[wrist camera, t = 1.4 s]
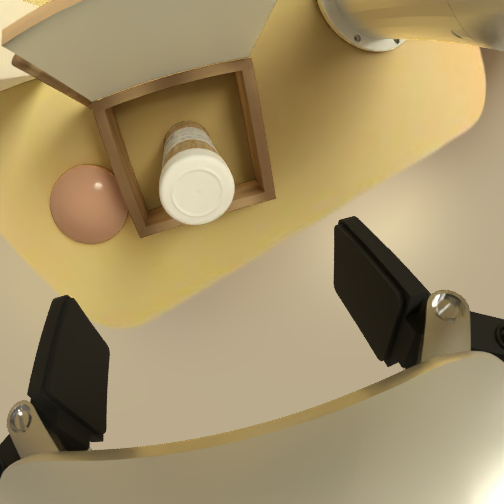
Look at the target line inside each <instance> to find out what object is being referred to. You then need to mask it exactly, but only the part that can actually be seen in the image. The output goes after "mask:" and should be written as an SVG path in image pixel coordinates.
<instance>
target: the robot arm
mask: <svg viewBox="0 0 504 504" xmlns="http://www.w3.org/2000/svg"><path fill="white" fill-rule="evenodd" d="M317 2H318V5H319V8H320V11H321V13H322V14H323V16H324V18H325V20H326V21H327V23H328V24H329V25H330V27H331V28H332V29H333V30H334V31H335V32H336V33H337V34H338V35H339V36H340V37H341V38H342V39H344V40H345V41H346V42H348V43H349V44H351V45H353V46H355V47H357V48H360V49H363V50H366V51H374V52H384V51H389V50H393V49H395V48H397V47H399V46H400V45H401V44H402V43H404V41H405V40H406V39H412V40H429V41H440V42H450V43H458V44H466V45H472V46H478V47H484V48H490V49H496V50H502V51H504V0H317ZM354 38H355V40H354ZM334 288H335V290H336V293H337V294H338V296H339V297H340V299H341V300H342V302H343V303H344V305H345V307H346V308H347V310H348V311H349V313H350V315H351V316H352V318H353V319H354V321H355V322H356V324H357V325H358V327H359V329H360V330H361V332H362V333H363V335H364V337H365V338H366V340H367V342H368V343H369V345H370V347H371V348H372V350H373V351H374V353H375V355H376V356H377V358H378V359H379V360H380V361H383V360H384V362H385V363H386V365H387V367H389V366H392V365H393V364H396V363H398V362H399V363H400V365H401V367H403V371H401V372H399V373H397V374H395V375H393V376H390V377H388V378H386V379H384V380H381V381H379V382H377V383H374V384H372V385H370V386H367V387H365V388H362V389H360V390H358V391H355V392H353V393H350V394H348V395H345V396H343V397H340V398H338V399H335V400H332V401H330V402H327V403H324V404H322V405H319V406H316V407H313V408H310V409H307V410H304V411H302V412H298V413H295V414H292V415H289V416H285V417H282V418H279V419H275V420H272V421H268V422H265V423H261V424H258V425H254V426H250V427H246V428H242V429H238V430H234V431H230V432H225V433H221V434H216V435H212V436H206V437H201V438H196V439H190V440H185V441H179V442H172V443H166V444H158V445H151V446H142V447H133V448H122V449H108V450H92V449H91V448H90V447H89V445H90V443H89V442H100V441H103V434H104V433H105V432H106V413H107V412H106V411H107V385H108V369H109V356H110V352H109V347H108V345H107V344H106V342H105V341H104V340H103V338H102V337H101V336H100V334H99V333H98V332H97V330H96V329H95V328H94V326H93V325H92V323H91V322H90V321H89V319H88V318H87V316H86V315H85V314H84V312H83V311H82V309H81V308H80V306H79V305H78V303H77V302H76V300H75V299H74V298H70V296H68V295H65V296H61V297H58V298H55V299H53V301H52V303H51V306H50V309H49V312H48V316H47V319H46V322H45V325H44V328H43V332H42V335H41V338H40V342H39V346H38V350H37V353H36V357H35V361H34V366H33V370H32V374H31V378H30V383H29V388H28V393H27V395H28V396H29V397H30V398H31V401H30V402H28V401H26V400H22V401H19V402H17V403H16V404H15V405H14V406H13V407H12V408H11V410H10V412H9V414H8V418H7V428H8V431H9V435H8V436H7V437H6V438H5V440H4V441H3V442H2V443H1V444H0V504H504V319H500V318H496V317H492V316H487V315H483V314H479V313H475V312H471V311H470V310H469V305H468V304H467V302H466V301H465V299H464V298H463V297H462V296H461V295H459V294H457V293H456V292H453V291H449V290H440V291H436V292H435V293H433V294H430V293H429V291H428V290H427V289H426V288H425V287H424V286H423V285H422V284H421V282H420V281H419V280H418V279H417V278H416V277H415V276H414V275H413V274H412V273H411V272H410V270H409V269H408V268H407V267H406V266H405V265H404V264H403V263H402V262H401V261H400V260H399V259H398V258H397V257H396V255H395V254H394V253H393V252H392V251H391V250H390V249H389V248H387V247H386V246H385V245H384V244H383V243H382V242H381V241H380V240H379V239H378V238H377V237H376V236H375V235H374V234H373V233H372V232H371V231H370V230H369V229H368V228H367V227H366V226H365V225H364V224H363V223H362V222H361V221H360V220H359V219H358V218H357V217H355V216H352V217H349V218H345V219H341V220H339V222H338V225H336V226H335V228H334Z"/></svg>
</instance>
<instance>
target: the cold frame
mask: <svg viewBox="0 0 504 504" xmlns="http://www.w3.org/2000/svg"><path fill="white" fill-rule="evenodd" d="M12 66H14V67H16V68H18V69H20V70H22V71H23V72H25V73H27V74H29V75H31V76H33V77H35V78H36V79H38V80H40V81H42V82H44V83H46V84H48V85H49V86H51V87H53V88H55V89H57V90H58V91H60V92H62V93H64V94H66V95H67V96H69V97H71V98H73V99H74V100H76V101H78V102H80V103H82V104H83V105H85V106H87V107H89V108H90V109H93V113H94V116H95V119H96V122H97V125H98V128H99V131H100V134H101V137H102V140H103V143H104V146H105V149H106V152H107V155H108V158H109V161H110V163H111V166H112V169H113V172H114V174H115V177H116V180H117V182H118V185H119V187H120V190H121V193H122V195H123V198H124V200H125V203H126V205H127V208H128V210H129V213H130V215H131V217H132V220H133V222H134V225H135V227H136V229H137V232H138V234H139V236H140V238H143V237H146V236H149V235H152V234H155V233H159V232H162V231H165V230H168V229H172V228H175V227H178V226H181V225H185V224H184V223H181V222H179V221H177V220H175V219H174V218H172V217H171V216H170V215H169V214H168V213H167V212H166V211H165V209H164V208H163V207H159V208H156V209H153V210H150V211H148V210H147V207H146V205H145V202H144V199H143V197H142V194H141V191H140V188H139V186H138V183H137V180H136V177H135V174H134V172H133V169H132V166H131V163H130V160H129V157H128V154H127V151H126V148H125V145H124V142H123V139H122V136H121V133H120V130H119V126H118V123H117V120H116V117H115V113H114V110H113V106H115V105H118V104H121V103H124V102H126V101H129V100H132V99H135V98H138V97H141V96H144V95H147V94H150V93H153V92H156V91H159V90H163V89H166V88H169V87H173V86H176V85H180V84H184V83H187V82H191V81H195V80H199V79H203V78H207V77H212V76H216V75H221V74H226V73H230V72H235V77H236V82H237V87H238V92H239V97H240V102H241V107H242V112H243V117H244V122H245V127H246V132H247V137H248V142H249V147H250V152H251V157H252V163H253V168H254V173H255V178H256V180H253V181H249V182H245V183H242V184H238V185H234V186H235V190H234V196H233V200H232V202H231V204H230V206H229V207H228V209H227V210H226V211H225V212H229V211H232V210H236V209H240V208H243V207H247V206H250V205H254V204H258V203H261V202H265V201H269V200H272V199H276V196H275V189H274V183H273V177H272V171H271V165H270V159H269V153H268V147H267V141H266V135H265V129H264V124H263V118H262V112H261V107H260V101H259V96H258V91H257V85H256V80H255V75H254V70H253V64H252V59H251V58H246V59H240V60H235V61H229V62H224V63H219V64H215V65H210V66H206V67H201V68H197V69H193V70H189V71H185V72H182V73H178V74H174V75H171V76H167V77H164V78H160V79H157V80H154V81H151V82H148V83H144V84H141V85H138V86H136V87H133V88H130V89H127V90H124V91H121V92H119V93H116V94H113V95H111V96H108V97H106V98H103V99H101V100H96V101H93V102H92V101H90V100H89V99H87V98H86V97H84V96H82V95H81V94H79V93H78V92H76V91H75V90H73V89H71V88H70V87H68V86H67V85H65V84H64V83H62V82H60V81H59V80H57V79H56V78H54V77H52V76H51V75H49V74H48V73H46V72H44V71H43V70H41V69H39V68H38V67H36V66H35V65H33V64H31V63H30V62H28V61H26V60H25V59H23V58H21V57H20V56H18V55H16V54H15V55H14V56H13V58H12ZM225 212H224V213H225Z"/></svg>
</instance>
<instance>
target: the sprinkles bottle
mask: <svg viewBox="0 0 504 504" xmlns="http://www.w3.org/2000/svg"><path fill="white" fill-rule="evenodd" d="M234 190H235V186H234V179H233V176H232V174H231V172H230V170H229V168H228V166H227V164H226V163H225V161H224V160H223V159H222V158H221V157H220V156H219V154H218V152H217V150H216V148H215V146H214V145H213V143H212V141H211V139H210V138H209V135H208V133H207V132H206V130H205V128H204V127H202V126H201V125H200V124H198V123H195V122H191V121H186V122H180V123H178V124H176V125H174V126H173V127H172V128H171V129H170V130H169V131H168V133H167V135H166V137H165V141H164V153H163V162H162V172H161V175H160V180H159V196H160V201H161V204H162V206H163V208H164V209H165V211H166V212H167V213H168V214H169V215H170V216H171V217H172V218H174V219H175V220H177V221H179V222H181V223H184V224H188V225H202V224H206V223H209V222H212V221H214V220H215V219H217V218H219V217H220V216H221V215H222V214H223V213H224V212H225V211H226V210H227V209H228V207H229V206H230V204H231V202H232V200H233V196H234Z"/></svg>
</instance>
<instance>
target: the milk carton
mask: <svg viewBox="0 0 504 504" xmlns="http://www.w3.org/2000/svg"><path fill="white" fill-rule="evenodd" d="M37 8H39V7H38V6H35V5H33V4H30V3H27V2H25V1H22V0H0V91H3V90H5V89H8V88H10V87H13V86H16V85H18V84H21V83H24V82H27V81H30V80H32V79H35V77H33V76H31V75H29V74H27V73H25V72H23V71H22V70H20V69H18V68H16V67H14V66H12V58H13V56H14V55H15V53H13V52H11V51H10V50H8V49H6V48H4V47H3V46H1V41H2V30H3V29H4V28H6V27H7V26H9V25H10V24H12V23H14V22H15V21H17V20H18V19H20V18H22V17H23V16H25V15H27V14H28V13H30V12H32V11H33V10H35V9H37Z"/></svg>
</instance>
